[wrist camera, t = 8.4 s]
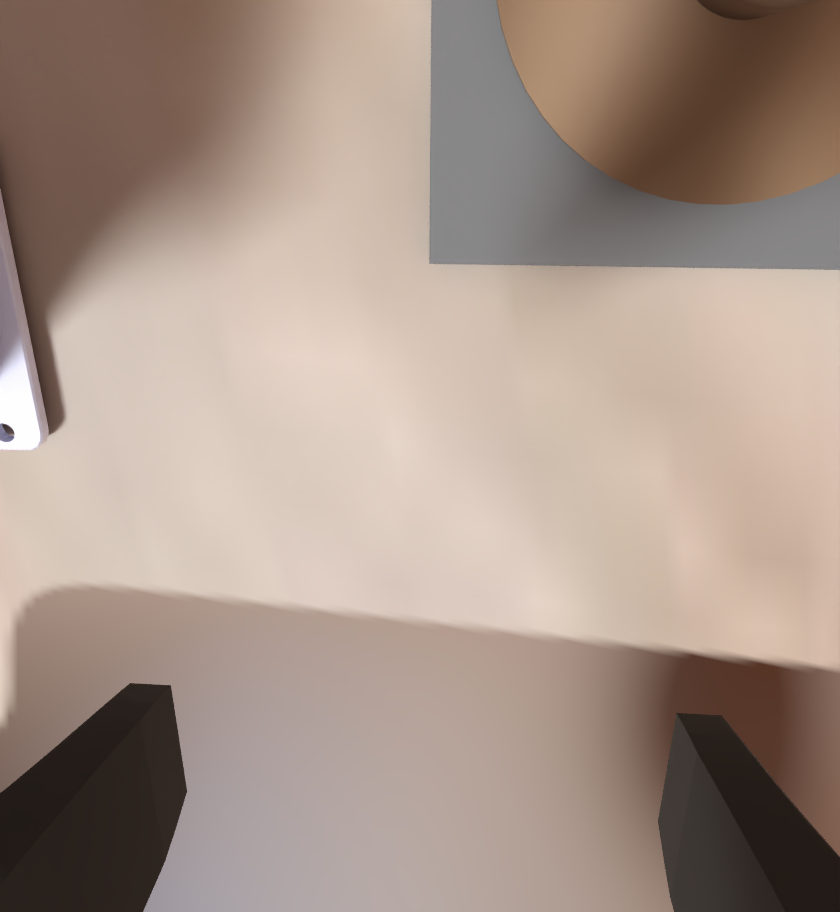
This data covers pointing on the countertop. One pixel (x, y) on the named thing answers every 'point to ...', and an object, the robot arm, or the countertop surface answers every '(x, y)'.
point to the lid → (687, 90)
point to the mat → (577, 182)
